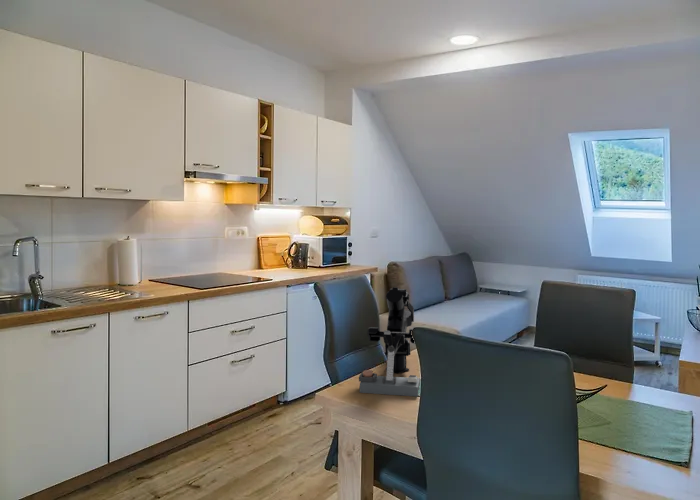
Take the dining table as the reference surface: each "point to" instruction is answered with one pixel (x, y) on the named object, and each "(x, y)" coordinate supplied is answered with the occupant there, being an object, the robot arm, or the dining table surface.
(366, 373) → the push button
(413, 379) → the rocker switch
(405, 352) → the robot arm
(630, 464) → the dining table surface
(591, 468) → the dining table surface
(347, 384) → the dining table surface
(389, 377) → the toggle lever
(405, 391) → the panel
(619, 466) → the dining table surface
